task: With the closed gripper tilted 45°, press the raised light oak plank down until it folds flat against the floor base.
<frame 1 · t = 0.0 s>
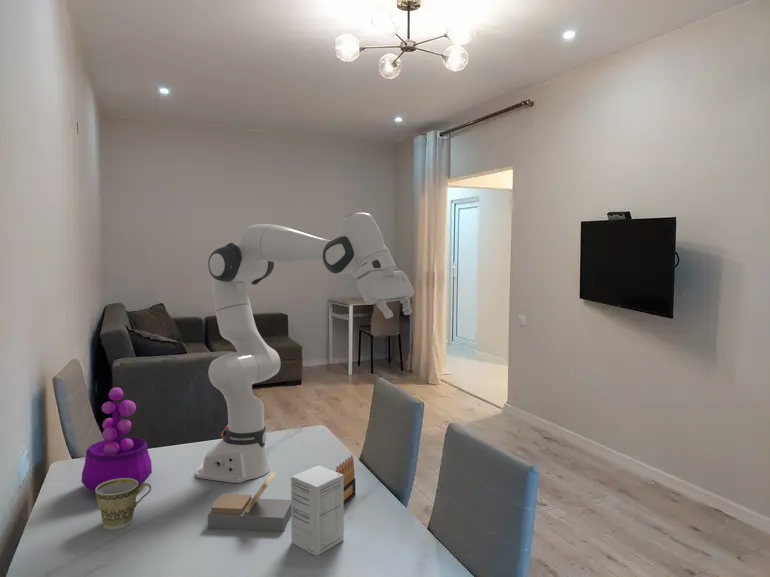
hand: (399, 315, 143), 54 cm above the table, tool tilted 30°, fingers open, 8 cm apart
supplement box: (317, 542, 134), on the table
floor base: (252, 520, 145), on the table
ammunition clip: (344, 502, 156), on the table
decorative plant: (118, 487, 163), on the table
ceramic cup: (124, 523, 143), on the table
oak plank: (260, 491, 144), point 8 cm above the table, hinge at 55.0°
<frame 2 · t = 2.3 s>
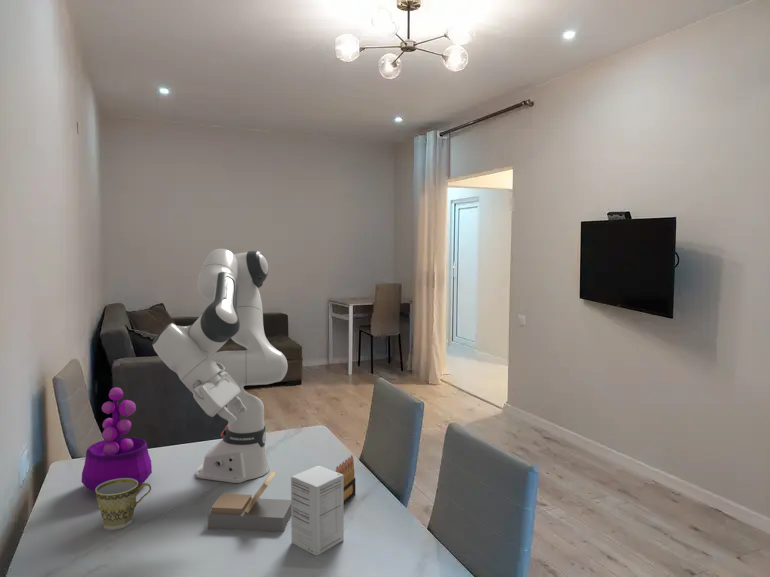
hand: (239, 416, 142), 28 cm above the table, tool tilted 45°, fingers open, 8 cm apart
nothing on the table moved.
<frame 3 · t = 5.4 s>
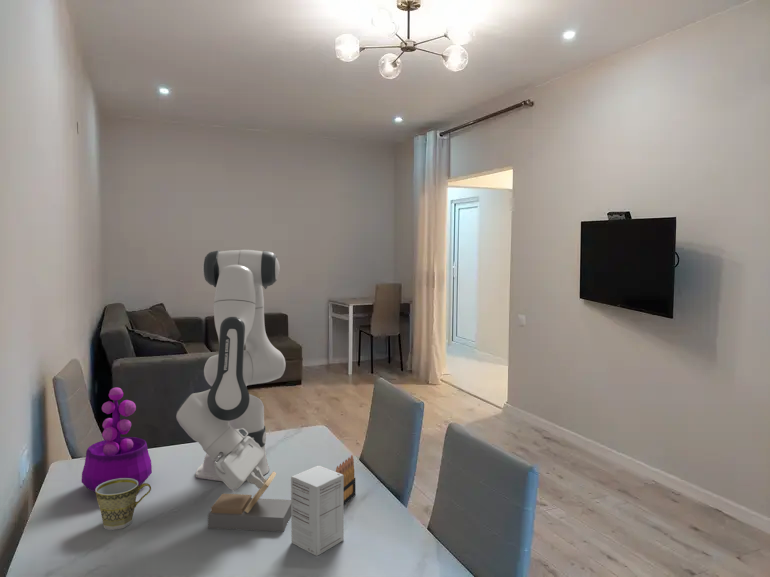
hand: (263, 484, 143), 10 cm above the table, tool tilted 45°, fingers closed, pressing on oak plank
oak plank: (260, 491, 144), point 8 cm above the table, hinge at 53.3°, touching gripper
everything else where it was.
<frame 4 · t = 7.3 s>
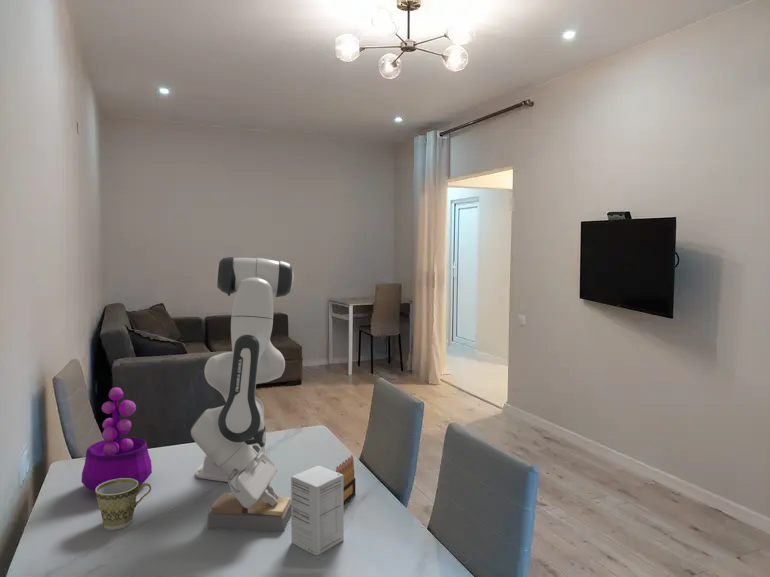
hand: (276, 502, 144), 5 cm above the table, tool tilted 45°, fingers closed, pressing on oak plank
oak plank: (269, 505, 144), point 4 cm above the table, hinge at -2.0°, touching floor base, gripper
everything else where it was.
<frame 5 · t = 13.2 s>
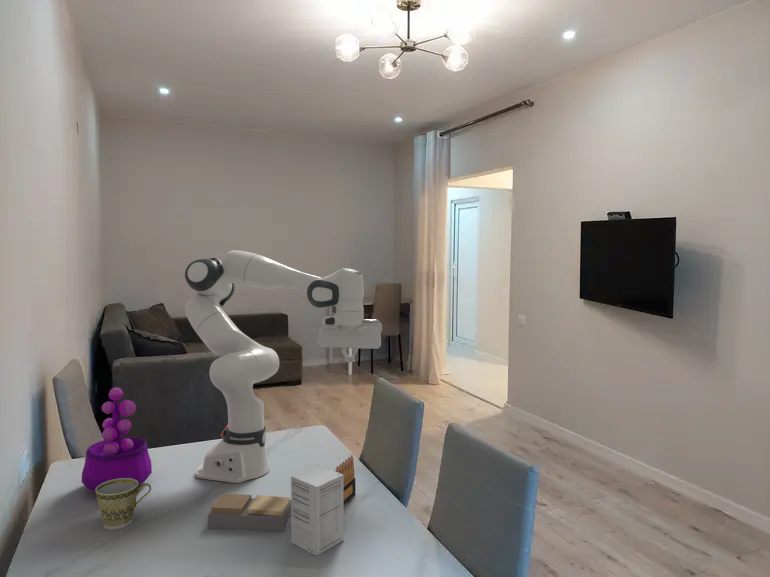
hand: (349, 361, 178), 35 cm above the table, tool pointing down, fingers closed
oak plank: (269, 505, 144), point 4 cm above the table, hinge at -2.0°, touching floor base
everything else where it was.
at the end: oak plank at -2° (first picture: +55°); supplement box moved 0.2 cm from its start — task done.
